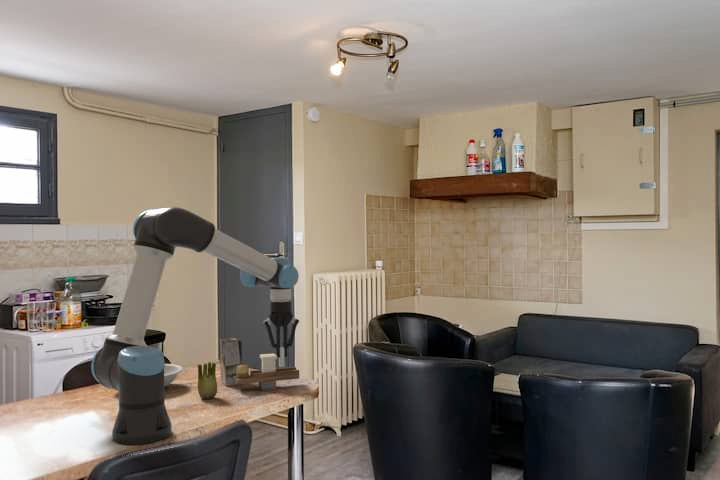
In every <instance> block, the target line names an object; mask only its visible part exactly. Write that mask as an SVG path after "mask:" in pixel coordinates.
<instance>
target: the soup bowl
mask: <svg viewBox="0 0 720 480" xmlns="http://www.w3.org/2000/svg"><path fill="white" fill-rule="evenodd" d="M183 370H184V367H183V366H181V365H178V364H173V363H165V367H164V388H165V387H168V386H169V385H171V383H173V382H174V381H175V380H176V379H177V377H178V375H179V374H180V373H181V372H183Z"/></svg>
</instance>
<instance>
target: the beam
mask: <svg viewBox="0 0 720 480" xmlns="http://www.w3.org/2000/svg"><path fill="white" fill-rule="evenodd" d="M249 367H250V365H249V364H242V365H239V366H237V376H235V382H236V384H240V385H246V384H255V383H258V388H259V389H260V390H261V392H267V390H268V391H276V390H277V381H288V380H297V379H298V380H299V379H300V370H299V369H297V367H296V366H291V367H278V368H277V367H276V372H266V373H262V369H256V370H254V369H253V370H250V369H249ZM249 372H250V373H249Z"/></svg>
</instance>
